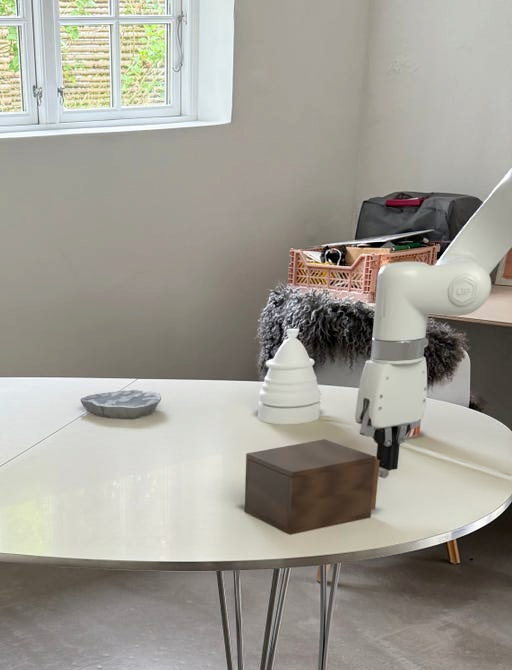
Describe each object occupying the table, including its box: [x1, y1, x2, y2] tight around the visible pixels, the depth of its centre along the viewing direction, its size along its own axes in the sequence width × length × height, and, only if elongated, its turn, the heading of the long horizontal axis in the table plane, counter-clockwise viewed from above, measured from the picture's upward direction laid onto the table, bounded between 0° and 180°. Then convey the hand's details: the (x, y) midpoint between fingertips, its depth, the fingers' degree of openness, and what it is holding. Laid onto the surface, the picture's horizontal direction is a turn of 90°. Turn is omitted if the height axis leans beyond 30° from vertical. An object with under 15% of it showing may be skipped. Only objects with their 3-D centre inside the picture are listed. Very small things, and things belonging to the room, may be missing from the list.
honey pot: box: [257, 328, 322, 425], centre depth 202 cm, size 13×13×18 cm
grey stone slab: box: [80, 389, 162, 420], centre depth 222 cm, size 20×17×3 cm
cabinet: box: [244, 438, 377, 536], centre depth 147 cm, size 15×13×10 cm
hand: (386, 467), depth 151 cm, fingers closed
